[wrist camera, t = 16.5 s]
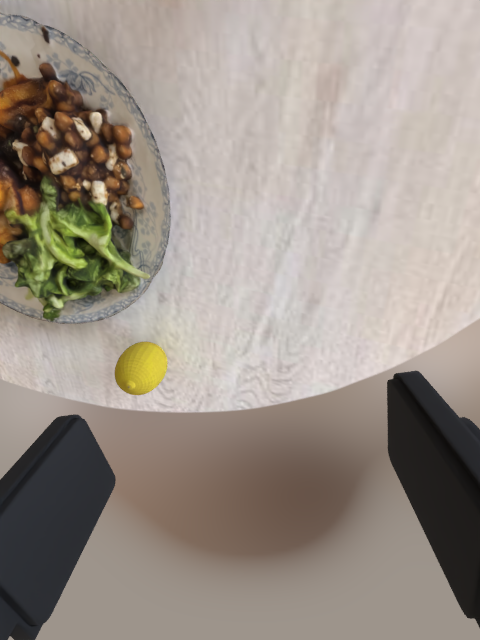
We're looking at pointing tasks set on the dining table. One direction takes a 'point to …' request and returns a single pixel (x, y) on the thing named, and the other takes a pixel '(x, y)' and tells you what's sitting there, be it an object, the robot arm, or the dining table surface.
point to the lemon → (141, 368)
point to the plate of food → (73, 182)
